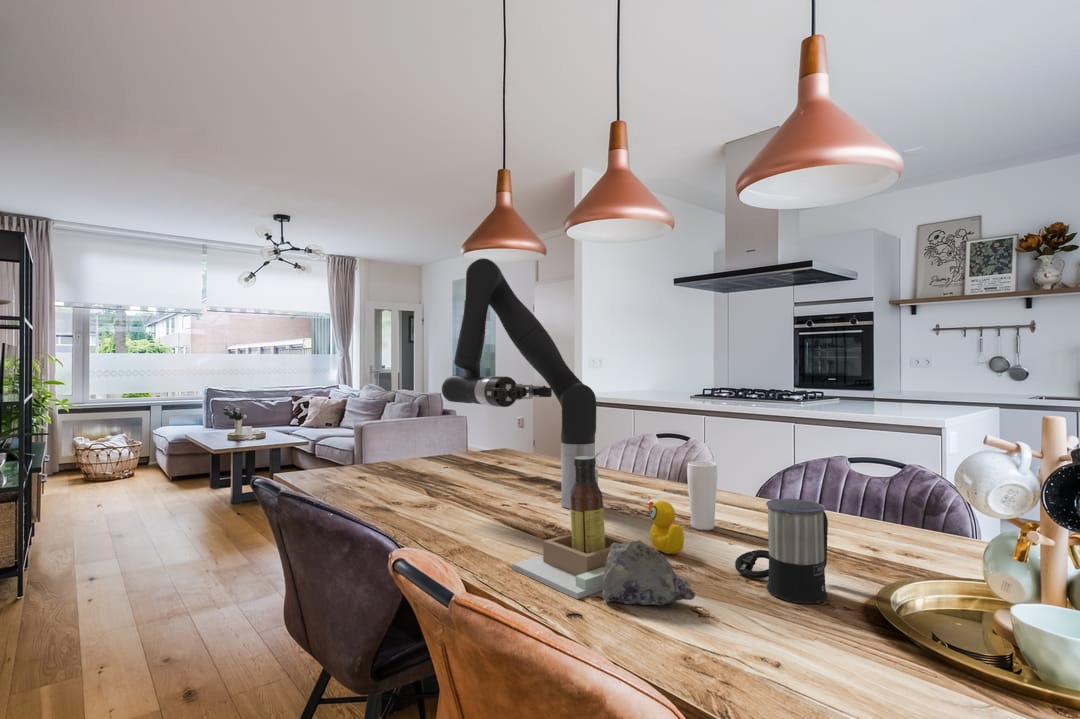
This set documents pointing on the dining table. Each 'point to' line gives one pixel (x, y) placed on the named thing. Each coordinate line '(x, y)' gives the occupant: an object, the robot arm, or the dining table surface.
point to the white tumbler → (702, 493)
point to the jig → (568, 566)
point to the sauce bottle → (586, 508)
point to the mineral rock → (642, 577)
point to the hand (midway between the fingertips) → (536, 393)
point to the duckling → (665, 528)
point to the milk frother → (793, 551)
